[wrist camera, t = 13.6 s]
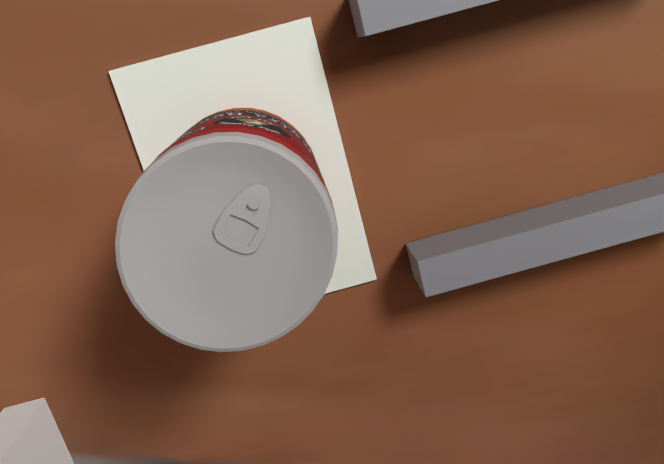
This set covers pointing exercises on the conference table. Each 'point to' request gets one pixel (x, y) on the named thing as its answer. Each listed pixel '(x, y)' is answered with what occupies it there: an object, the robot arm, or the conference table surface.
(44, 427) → the robot arm
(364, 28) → the chute
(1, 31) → the conference table surface
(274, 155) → the canned food
